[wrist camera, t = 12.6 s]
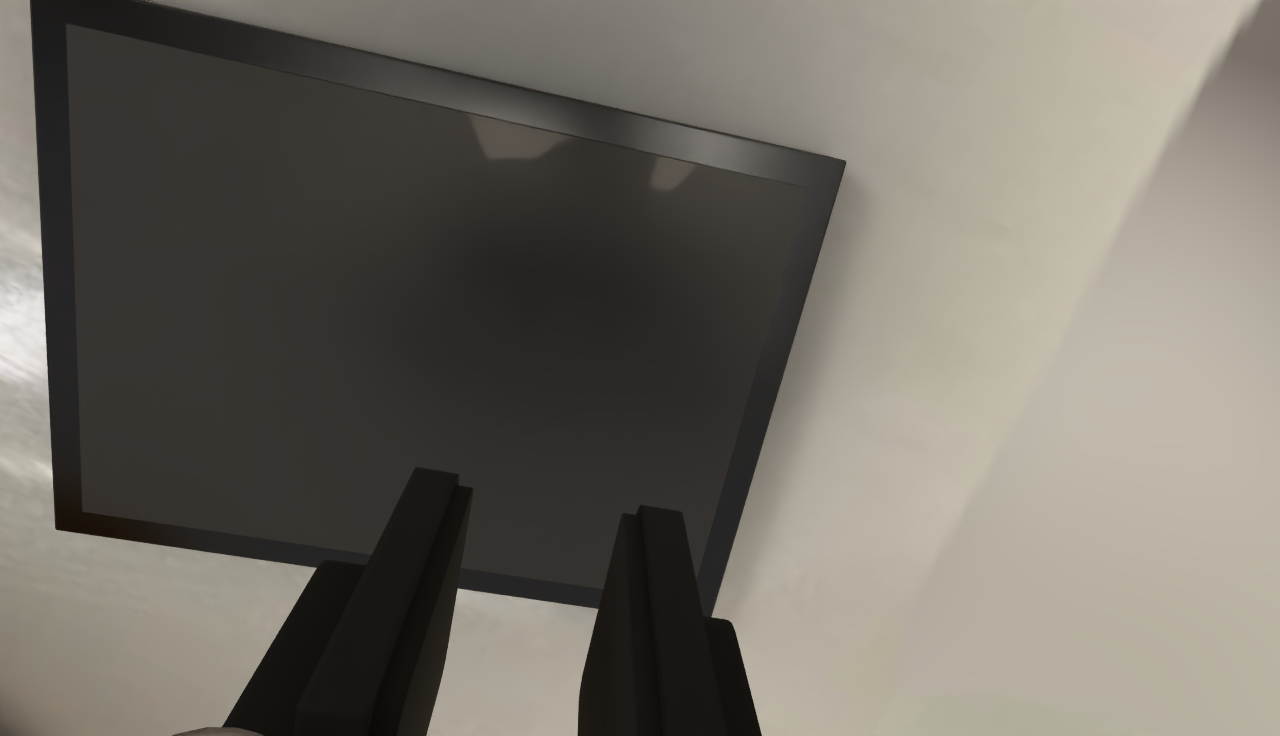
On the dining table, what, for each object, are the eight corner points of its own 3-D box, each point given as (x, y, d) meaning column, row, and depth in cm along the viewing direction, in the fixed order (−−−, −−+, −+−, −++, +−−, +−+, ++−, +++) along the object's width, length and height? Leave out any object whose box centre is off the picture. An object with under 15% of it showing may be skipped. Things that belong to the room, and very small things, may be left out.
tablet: (63, -18, 15) (23, -27, 14) (833, 157, 17) (849, 161, 16) (81, 508, 19) (51, 532, 17) (704, 601, 20) (709, 628, 19)
